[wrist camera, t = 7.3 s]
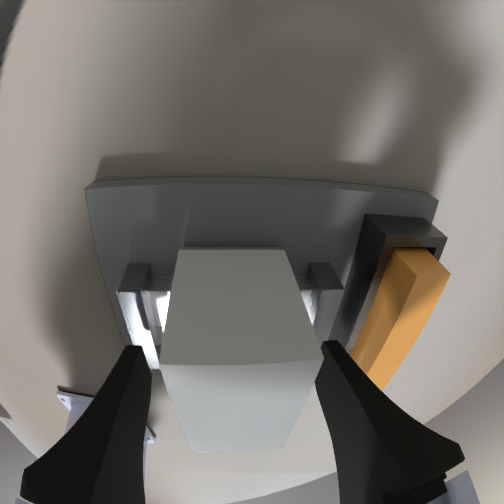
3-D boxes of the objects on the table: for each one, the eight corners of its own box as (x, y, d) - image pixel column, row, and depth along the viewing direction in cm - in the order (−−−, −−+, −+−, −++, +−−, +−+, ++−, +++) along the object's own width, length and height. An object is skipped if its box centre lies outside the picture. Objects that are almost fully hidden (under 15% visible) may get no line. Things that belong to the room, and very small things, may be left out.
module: (264, 349, 15) (282, 448, 10) (192, 351, 15) (190, 452, 10) (280, 239, 12) (324, 358, 7) (181, 239, 11) (158, 364, 6)
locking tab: (370, 365, 15) (381, 391, 14) (341, 370, 15) (351, 398, 13) (425, 248, 11) (450, 273, 9) (392, 248, 11) (416, 276, 9)
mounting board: (366, 350, 19) (371, 360, 18) (138, 360, 17) (136, 372, 16) (427, 193, 12) (438, 200, 12) (93, 181, 10) (84, 189, 10)
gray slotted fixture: (367, 353, 17) (378, 375, 16) (147, 365, 15) (143, 391, 14) (424, 217, 12) (447, 237, 10) (109, 210, 10) (90, 234, 9)
